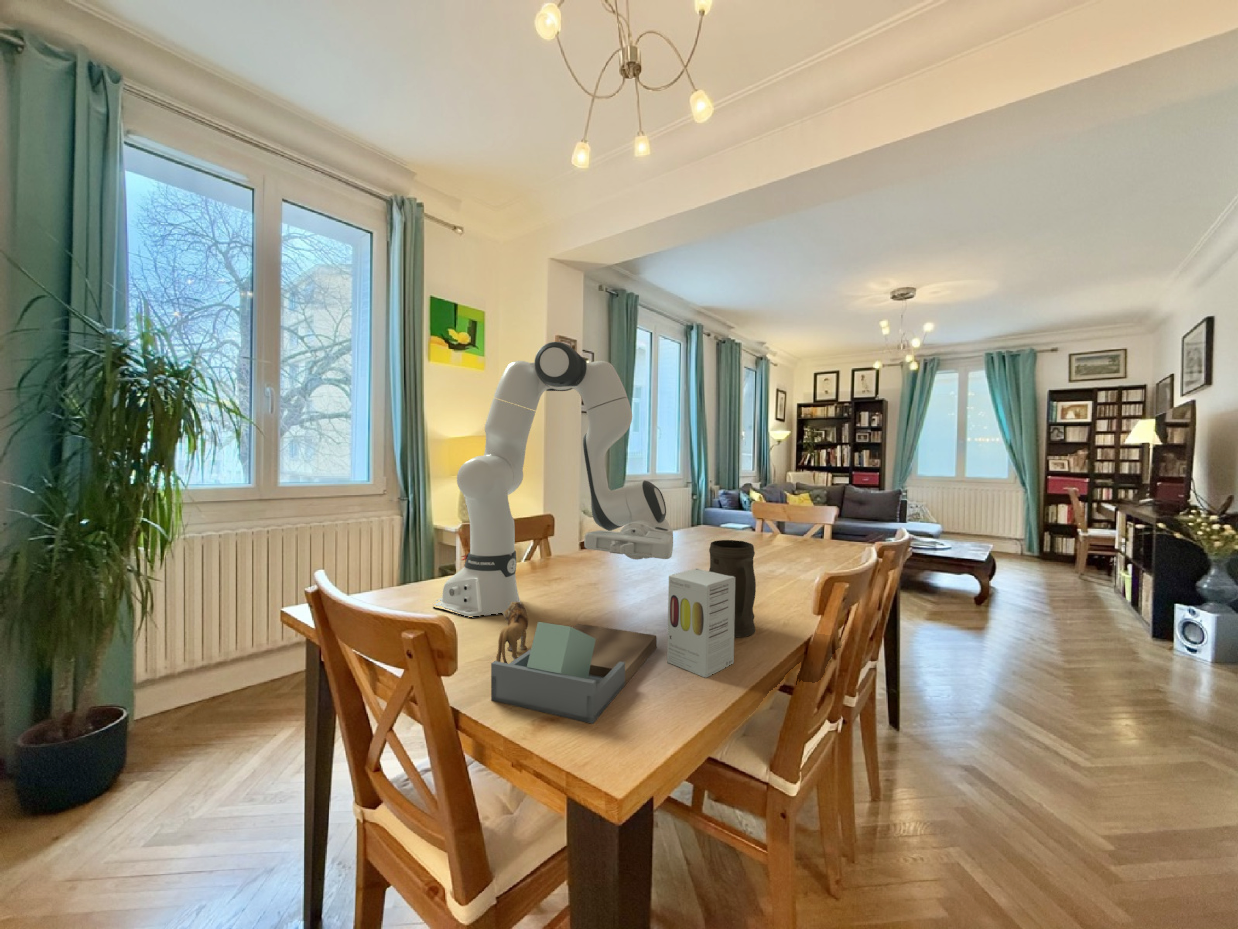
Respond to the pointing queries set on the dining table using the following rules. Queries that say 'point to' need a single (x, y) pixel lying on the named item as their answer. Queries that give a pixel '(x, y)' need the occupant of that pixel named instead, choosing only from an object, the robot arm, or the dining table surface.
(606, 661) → the brown wooden board
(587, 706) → the box
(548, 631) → the sage block
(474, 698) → the dining table surface
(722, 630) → the supplement box
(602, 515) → the robot arm
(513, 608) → the lion figurine
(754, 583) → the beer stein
